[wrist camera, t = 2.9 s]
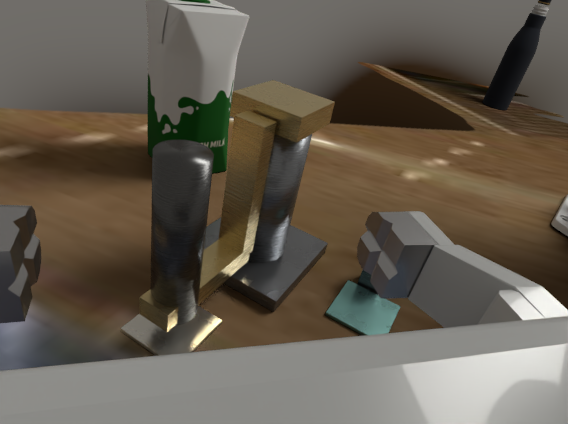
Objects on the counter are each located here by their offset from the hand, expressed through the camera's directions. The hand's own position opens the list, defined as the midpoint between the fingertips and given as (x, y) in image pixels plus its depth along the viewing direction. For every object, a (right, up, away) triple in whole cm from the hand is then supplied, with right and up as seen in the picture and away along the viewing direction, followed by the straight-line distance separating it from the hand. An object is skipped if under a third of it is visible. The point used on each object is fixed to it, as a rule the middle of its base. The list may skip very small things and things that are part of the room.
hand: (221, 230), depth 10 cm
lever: (-3, -4, +23) cm, 23 cm away
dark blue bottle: (+58, +29, +98) cm, 117 cm away
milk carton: (-10, +6, +40) cm, 42 cm away
